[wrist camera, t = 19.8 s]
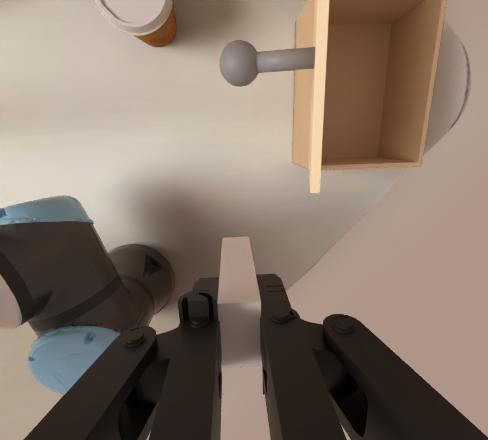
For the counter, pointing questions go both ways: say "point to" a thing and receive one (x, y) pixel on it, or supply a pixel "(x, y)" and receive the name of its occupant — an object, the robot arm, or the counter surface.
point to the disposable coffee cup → (142, 19)
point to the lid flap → (252, 62)
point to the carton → (370, 82)
